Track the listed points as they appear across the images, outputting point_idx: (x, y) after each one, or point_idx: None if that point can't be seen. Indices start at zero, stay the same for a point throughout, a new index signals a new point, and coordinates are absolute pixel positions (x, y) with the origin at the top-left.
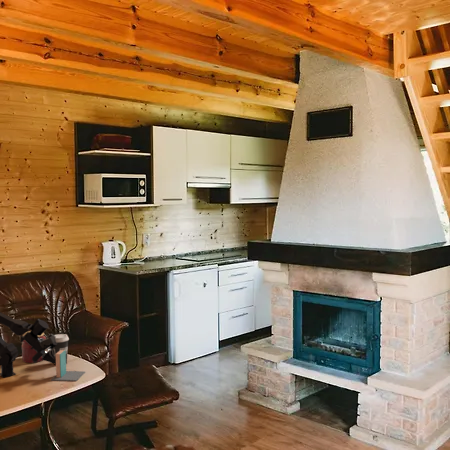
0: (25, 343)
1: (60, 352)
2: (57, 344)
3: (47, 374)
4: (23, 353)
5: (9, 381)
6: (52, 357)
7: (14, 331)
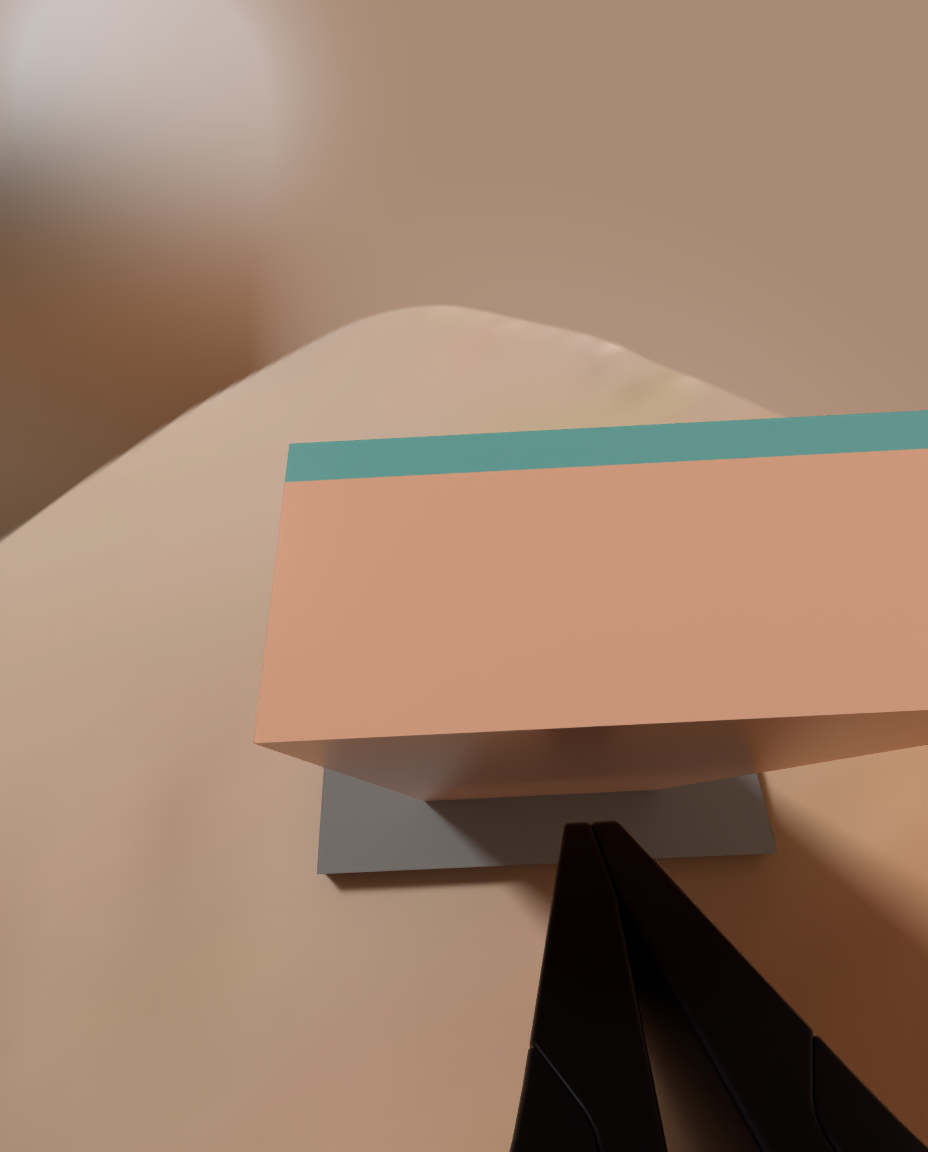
0: None
1: (748, 530)
2: None
3: (477, 1140)
4: None
5: None
6: (814, 1065)
7: None
